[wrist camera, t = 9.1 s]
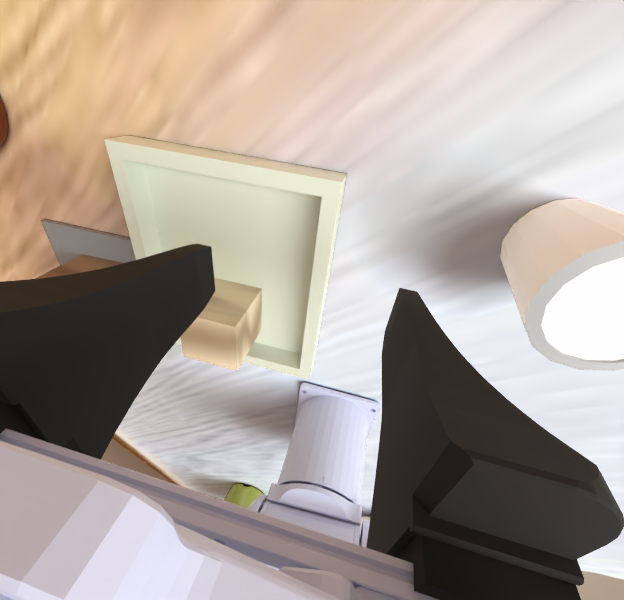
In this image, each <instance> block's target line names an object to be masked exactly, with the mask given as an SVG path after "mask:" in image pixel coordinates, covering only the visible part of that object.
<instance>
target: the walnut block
mask: <svg viewBox="0 0 624 600" xmlns="http://www.w3.org/2000/svg"><path fill="white" fill-rule="evenodd" d="M119 264H123V263H122V262H117V261H112V260H107V259H103V258H98V257H93V256H88V255H83V254H82V255H80V256H78V257H76V258H75V259H73V260H71V261H69V262H67V263H65V264H63V265H61V266H59V267H57V268H55V269H53V270H51V271H49V272H47V273H45V274H44V275H42V276H40V277H38V278H36V279H40V278H47V277H55V276H62V275H70V274H76V273H82V272H87V271H92V270H98V269H102V268H107V267H111V266H115V265H119Z"/></svg>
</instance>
